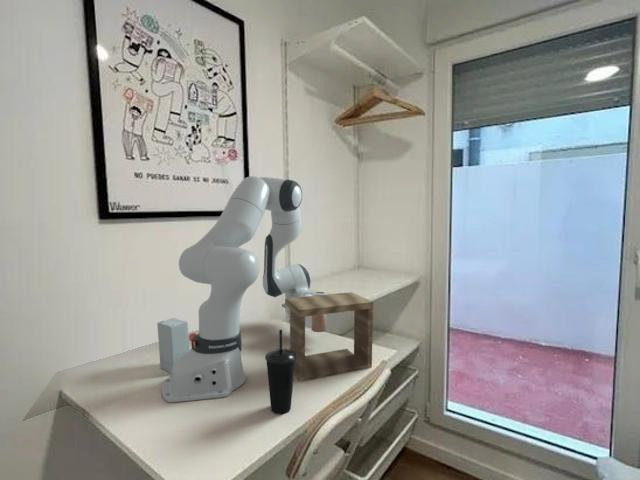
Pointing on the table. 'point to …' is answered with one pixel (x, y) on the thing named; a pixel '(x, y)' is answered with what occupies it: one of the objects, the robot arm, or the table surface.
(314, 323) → the peach tapered cylinder
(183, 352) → the skincare box
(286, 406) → the drinking cup
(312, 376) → the under counter shelf
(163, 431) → the table surface
